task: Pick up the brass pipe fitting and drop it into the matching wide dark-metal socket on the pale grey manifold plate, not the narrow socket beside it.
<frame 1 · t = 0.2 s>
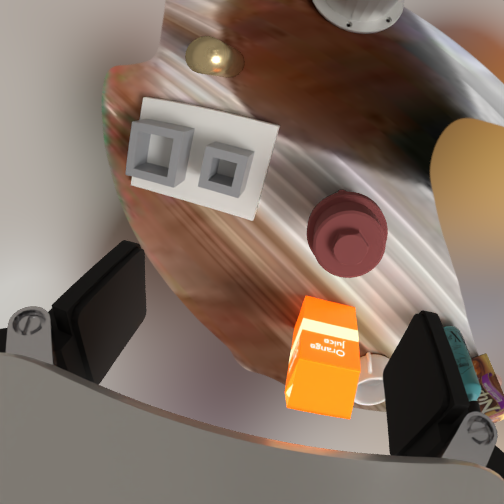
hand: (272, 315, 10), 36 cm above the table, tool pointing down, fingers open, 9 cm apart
beverage bottle: (442, 332, 51), on the table
orange juice: (324, 318, 54), on the table
manifold plate: (200, 154, 45), on the table
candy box: (468, 364, 53), on the table
brass pipe fitting: (228, 62, 38), on the table
mechanical component: (343, 211, 45), on the table
mug: (369, 364, 58), on the table
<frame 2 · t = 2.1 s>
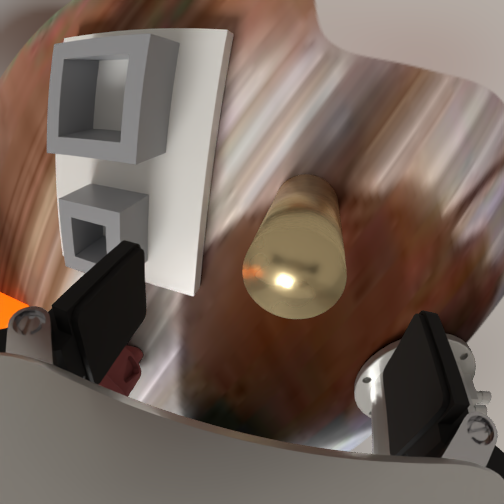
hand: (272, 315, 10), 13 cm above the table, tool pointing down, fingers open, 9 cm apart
orange juice: (21, 321, 38), on the table
manifold plate: (129, 157, 23), on the table
brass pipe fitting: (306, 205, 22), on the table
mechanical component: (121, 349, 34), on the table
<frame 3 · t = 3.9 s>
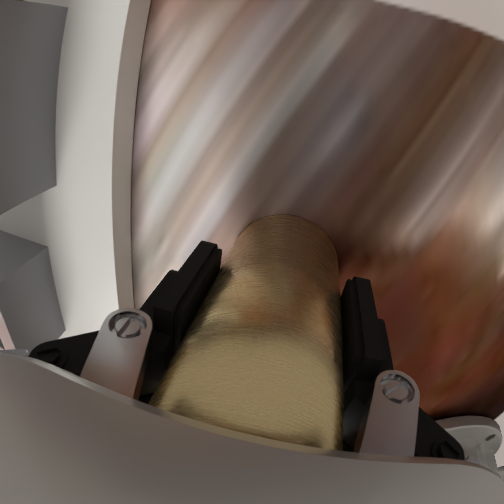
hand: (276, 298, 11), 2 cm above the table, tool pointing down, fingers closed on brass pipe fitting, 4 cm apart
manifold plate: (27, 187, 14), on the table
brass pipe fitting: (284, 265, 13), on the table, touching gripper
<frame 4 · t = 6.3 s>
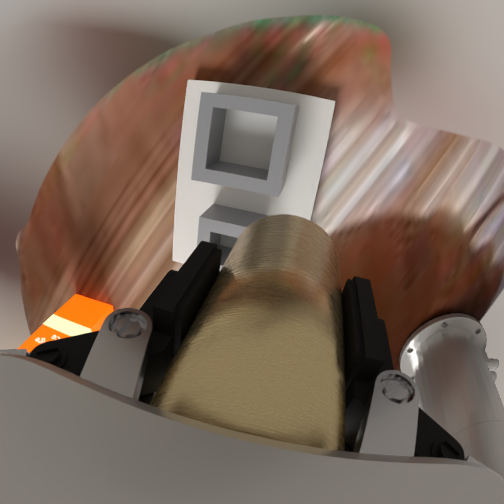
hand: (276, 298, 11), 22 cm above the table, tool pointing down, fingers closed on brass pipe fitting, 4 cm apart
orange juice: (98, 320, 47), on the table
manifold plate: (246, 184, 33), on the table
brass pipe fitting: (285, 264, 13), point 20 cm above the table, touching gripper
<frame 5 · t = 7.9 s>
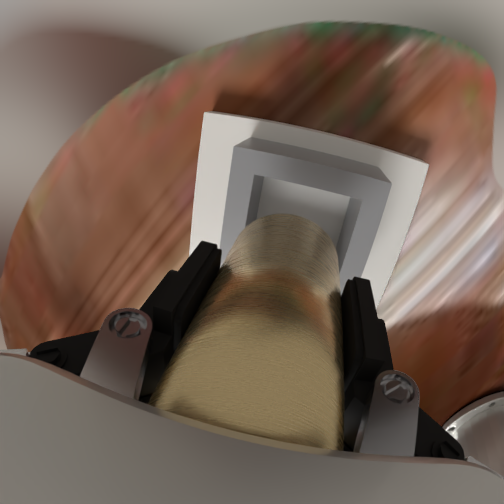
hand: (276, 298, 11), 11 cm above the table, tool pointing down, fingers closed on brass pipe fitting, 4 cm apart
manifold plate: (287, 267, 24), on the table
brass pipe fitting: (284, 264, 13), point 9 cm above the table, touching gripper
when the fingers open (7 cm above the table, at t = 9.1 s): brass pipe fitting drops 3 cm, resting on manifold plate.
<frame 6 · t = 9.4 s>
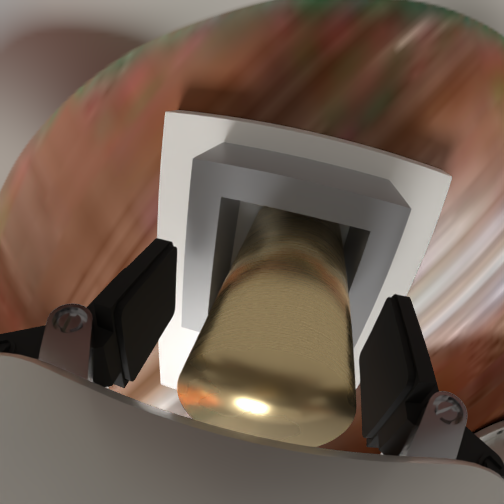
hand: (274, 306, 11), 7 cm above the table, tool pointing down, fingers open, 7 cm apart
manifold plate: (274, 298, 20), on the table
brass pipe fitting: (296, 236, 16), point 2 cm above the table, touching manifold plate
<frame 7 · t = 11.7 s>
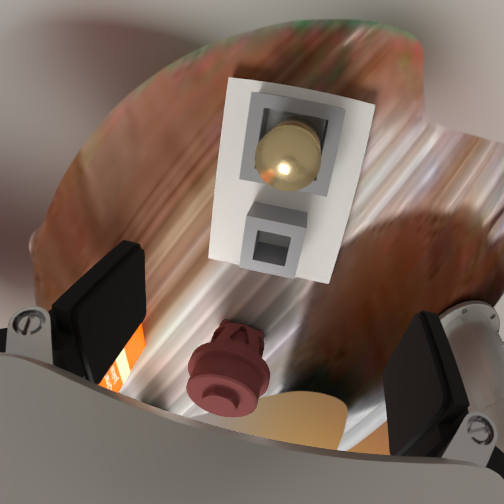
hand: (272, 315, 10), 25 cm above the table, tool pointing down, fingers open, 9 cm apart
orange juice: (121, 320, 48), on the table
manifold plate: (285, 182, 33), on the table
brass pipe fitting: (296, 138, 29), point 2 cm above the table, touching manifold plate
mechanical component: (241, 333, 44), on the table
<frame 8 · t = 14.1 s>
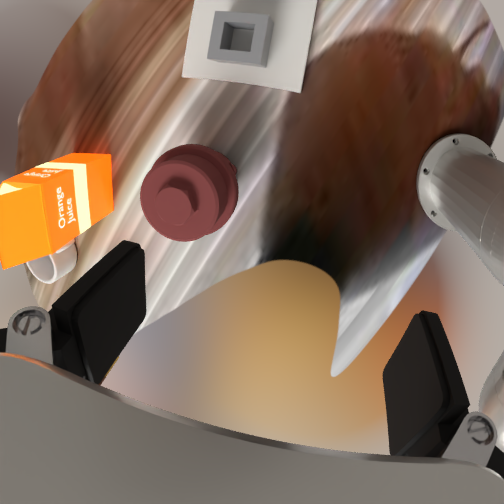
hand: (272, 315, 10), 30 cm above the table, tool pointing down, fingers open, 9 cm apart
orange juice: (93, 180, 44), on the table
manifold plate: (254, 7, 30), on the table
mechanical component: (212, 174, 40), on the table
mug: (63, 244, 51), on the table
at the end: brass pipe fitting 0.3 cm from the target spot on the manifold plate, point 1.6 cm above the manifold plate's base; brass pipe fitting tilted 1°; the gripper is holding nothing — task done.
